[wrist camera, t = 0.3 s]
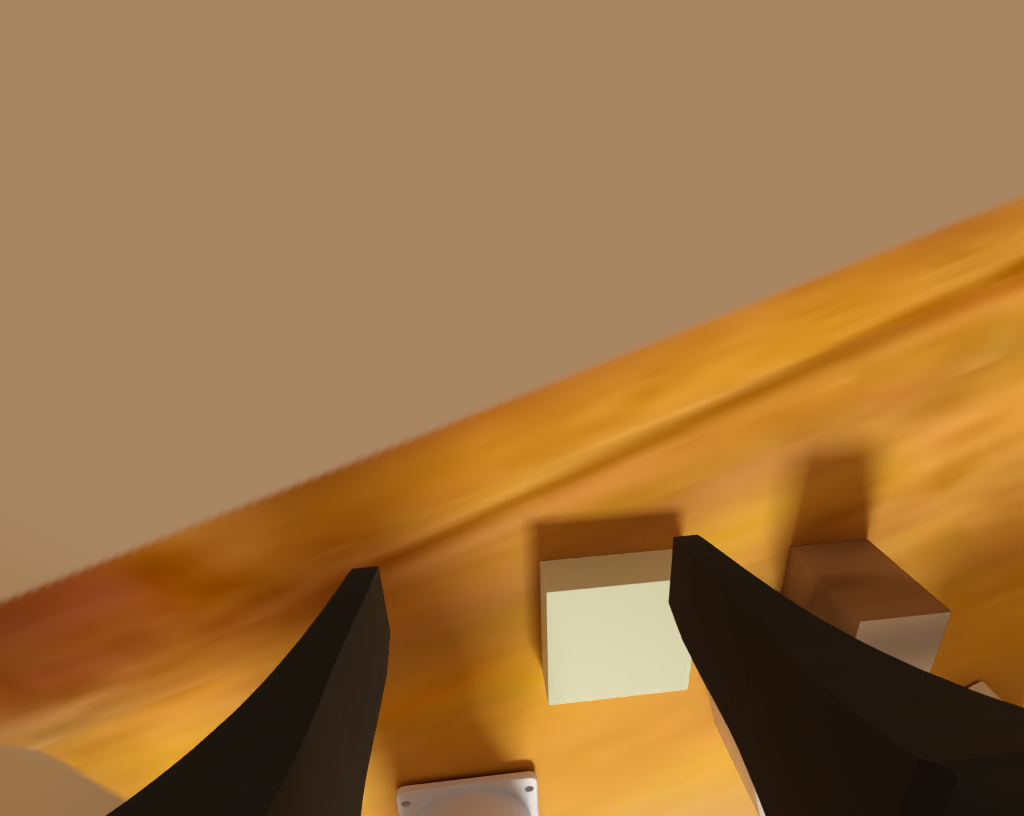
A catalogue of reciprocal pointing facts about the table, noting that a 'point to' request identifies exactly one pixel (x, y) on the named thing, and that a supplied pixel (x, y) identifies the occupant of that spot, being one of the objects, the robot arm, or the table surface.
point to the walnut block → (867, 598)
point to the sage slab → (610, 628)
